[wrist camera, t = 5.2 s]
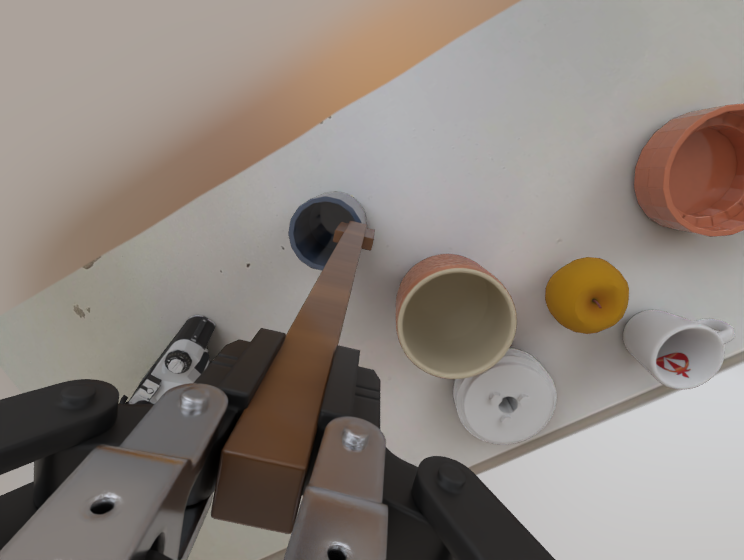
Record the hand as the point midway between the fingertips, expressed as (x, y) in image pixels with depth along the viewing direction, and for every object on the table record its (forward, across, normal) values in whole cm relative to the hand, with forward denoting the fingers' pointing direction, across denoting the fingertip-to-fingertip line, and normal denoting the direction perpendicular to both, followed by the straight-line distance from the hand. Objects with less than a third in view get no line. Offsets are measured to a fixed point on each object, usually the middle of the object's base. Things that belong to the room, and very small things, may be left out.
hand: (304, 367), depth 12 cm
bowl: (+40, -36, -14) cm, 55 cm away
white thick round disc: (+40, -23, +18) cm, 50 cm away
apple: (+40, -27, +2) cm, 48 cm away
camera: (+40, +17, +26) cm, 50 cm away
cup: (+40, -40, +5) cm, 57 cm away
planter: (+40, -12, +7) cm, 42 cm away
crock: (+40, +3, +2) cm, 40 cm away
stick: (+27, 0, 0) cm, 27 cm away
